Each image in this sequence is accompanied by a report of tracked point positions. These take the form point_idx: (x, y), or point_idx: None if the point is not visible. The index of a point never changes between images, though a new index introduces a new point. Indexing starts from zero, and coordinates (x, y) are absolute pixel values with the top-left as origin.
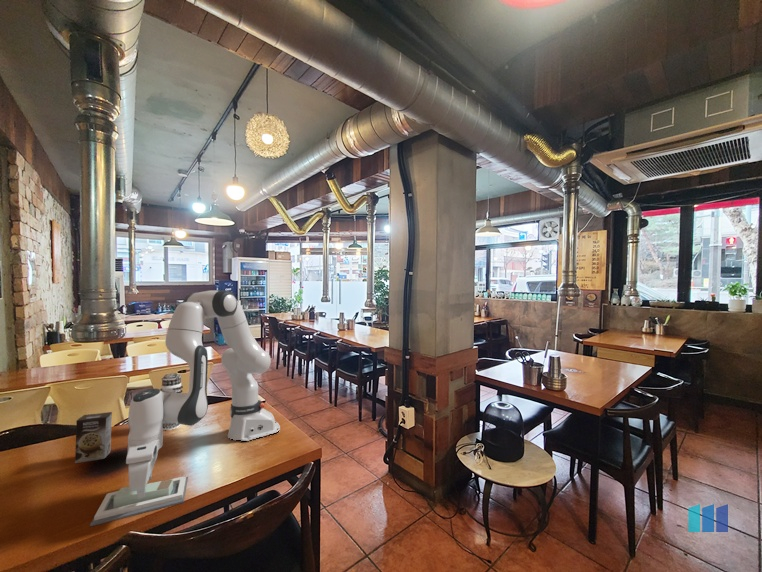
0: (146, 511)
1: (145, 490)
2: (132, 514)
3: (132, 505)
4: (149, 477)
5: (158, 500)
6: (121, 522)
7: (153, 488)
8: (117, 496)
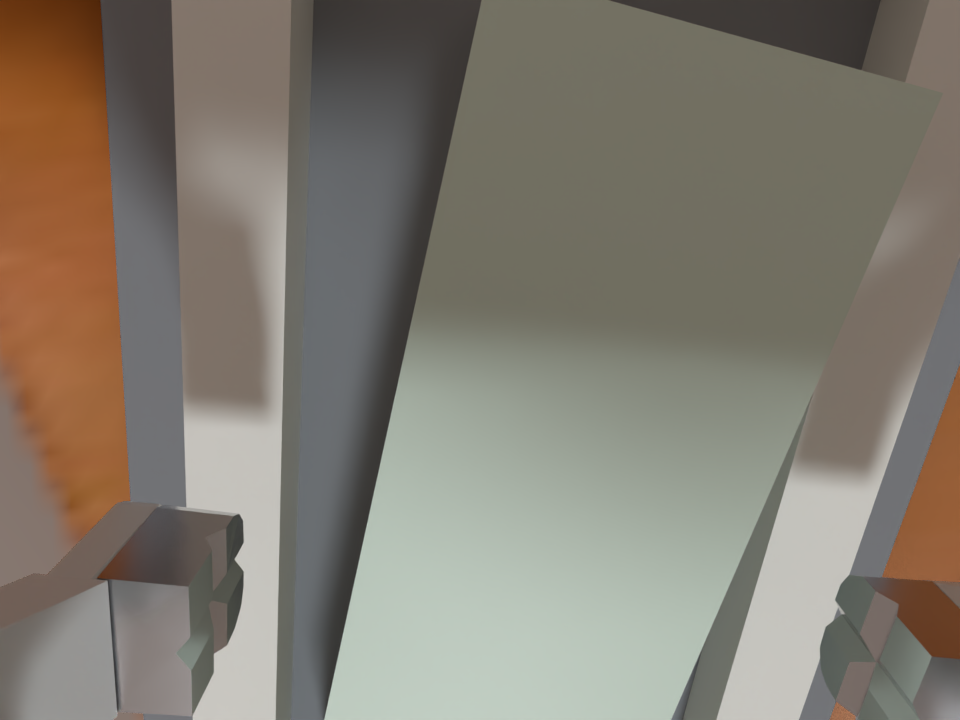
0: None
1: (172, 690)
2: (125, 341)
3: (232, 354)
4: (868, 690)
5: None
6: (15, 199)
7: (431, 706)
8: (513, 56)
